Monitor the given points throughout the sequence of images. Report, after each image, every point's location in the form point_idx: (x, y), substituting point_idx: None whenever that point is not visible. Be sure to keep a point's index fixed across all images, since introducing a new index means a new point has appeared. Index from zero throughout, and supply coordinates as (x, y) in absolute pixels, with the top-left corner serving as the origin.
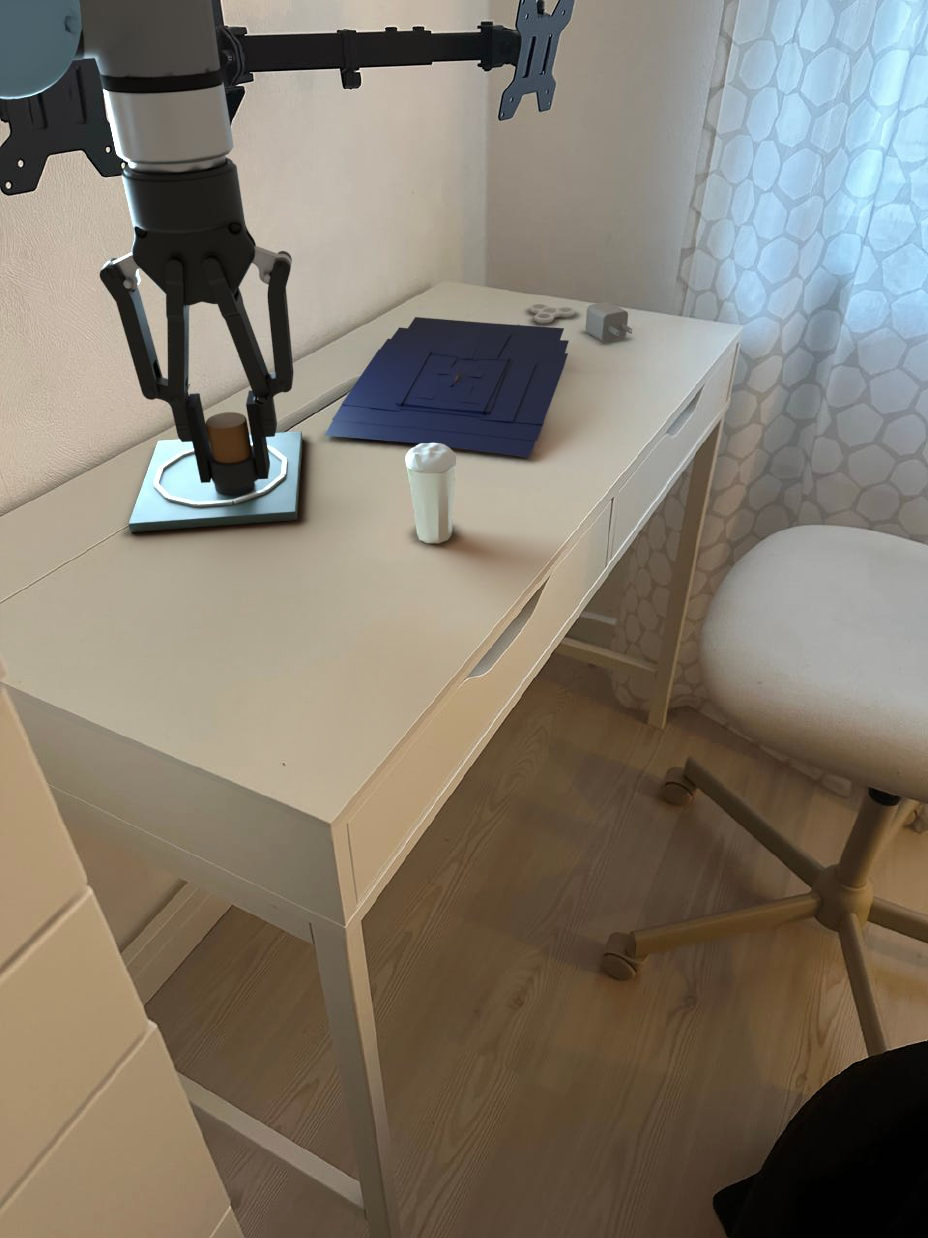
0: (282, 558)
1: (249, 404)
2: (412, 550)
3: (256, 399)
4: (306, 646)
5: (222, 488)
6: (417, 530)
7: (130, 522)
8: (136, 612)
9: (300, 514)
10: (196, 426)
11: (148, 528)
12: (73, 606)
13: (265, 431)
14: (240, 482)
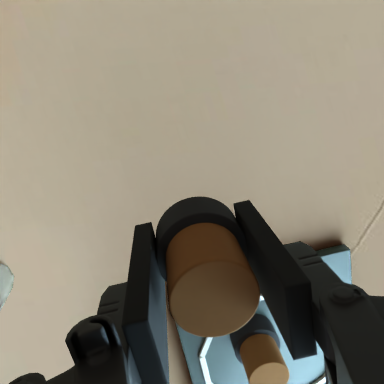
0: (161, 215)
1: (138, 322)
2: (10, 246)
3: (112, 333)
4: (77, 43)
5: (261, 319)
6: (7, 276)
7: (348, 251)
8: (299, 97)
9: (166, 297)
10: (272, 257)
11: (326, 250)
12: (371, 103)
13: (125, 290)
14: (178, 204)
